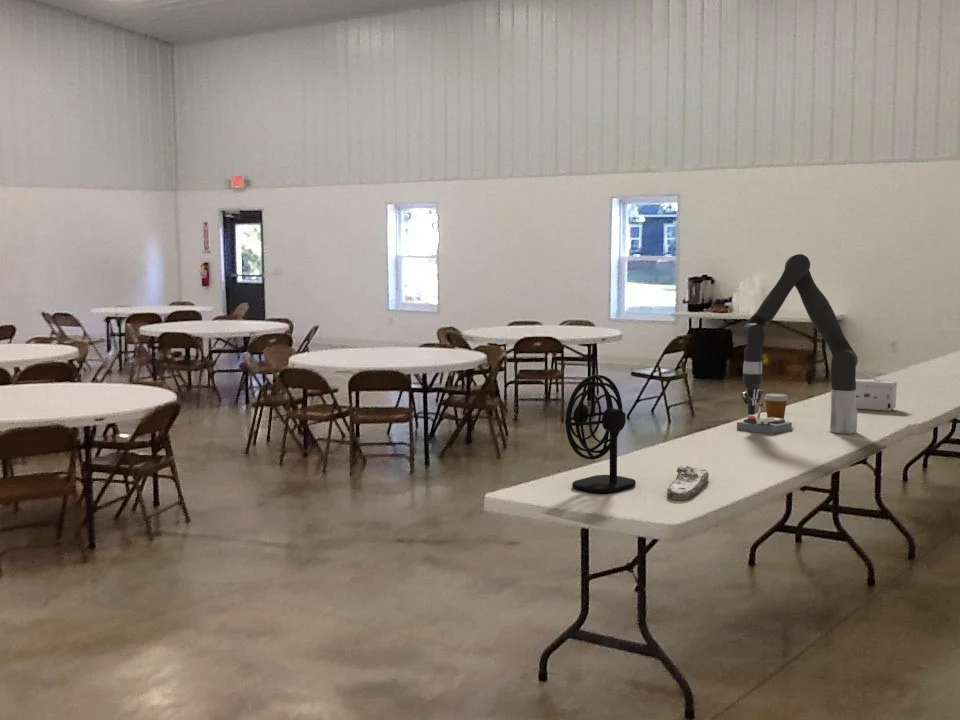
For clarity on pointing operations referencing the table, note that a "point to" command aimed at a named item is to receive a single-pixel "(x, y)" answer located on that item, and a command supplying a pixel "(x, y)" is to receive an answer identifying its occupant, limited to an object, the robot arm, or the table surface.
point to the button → (751, 417)
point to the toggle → (759, 410)
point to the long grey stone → (687, 483)
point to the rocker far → (765, 420)
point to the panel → (764, 426)
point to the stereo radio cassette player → (875, 394)
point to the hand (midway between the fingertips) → (751, 414)
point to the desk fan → (611, 423)
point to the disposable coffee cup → (775, 405)
